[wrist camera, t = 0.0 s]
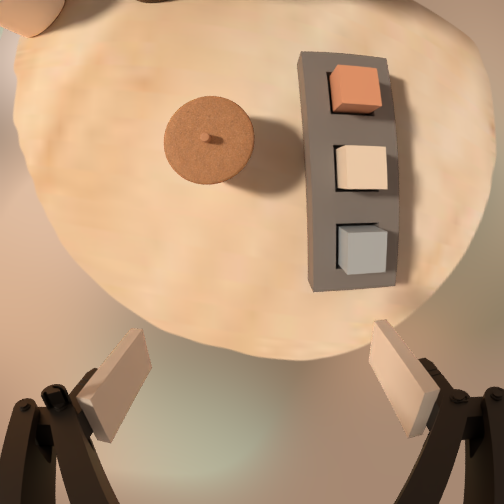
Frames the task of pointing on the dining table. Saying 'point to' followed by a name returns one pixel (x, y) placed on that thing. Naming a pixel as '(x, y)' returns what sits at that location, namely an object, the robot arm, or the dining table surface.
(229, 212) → the dining table surface
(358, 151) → the key ivory
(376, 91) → the key terracotta
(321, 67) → the console
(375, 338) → the robot arm
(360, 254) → the grey cube
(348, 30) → the dining table surface
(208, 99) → the lidded jar
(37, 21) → the can
